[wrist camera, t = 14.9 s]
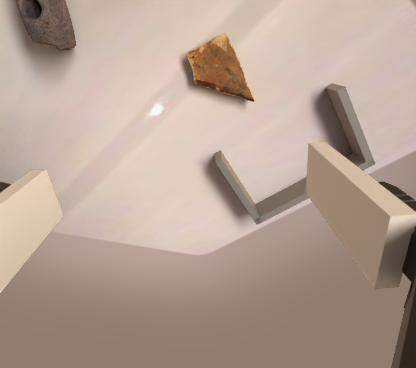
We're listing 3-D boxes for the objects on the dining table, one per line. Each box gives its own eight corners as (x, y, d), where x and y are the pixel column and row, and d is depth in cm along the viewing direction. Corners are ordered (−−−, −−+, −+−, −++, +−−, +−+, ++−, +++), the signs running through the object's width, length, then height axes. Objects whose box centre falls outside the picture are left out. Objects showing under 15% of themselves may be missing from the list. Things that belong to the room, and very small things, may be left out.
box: (214, 153, 50) (215, 163, 46) (332, 83, 45) (345, 87, 41) (252, 211, 56) (256, 224, 52) (361, 154, 51) (375, 163, 47)
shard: (253, 100, 46) (254, 101, 44) (210, 120, 47) (210, 122, 46) (226, 31, 42) (227, 31, 40) (180, 56, 43) (179, 56, 41)
